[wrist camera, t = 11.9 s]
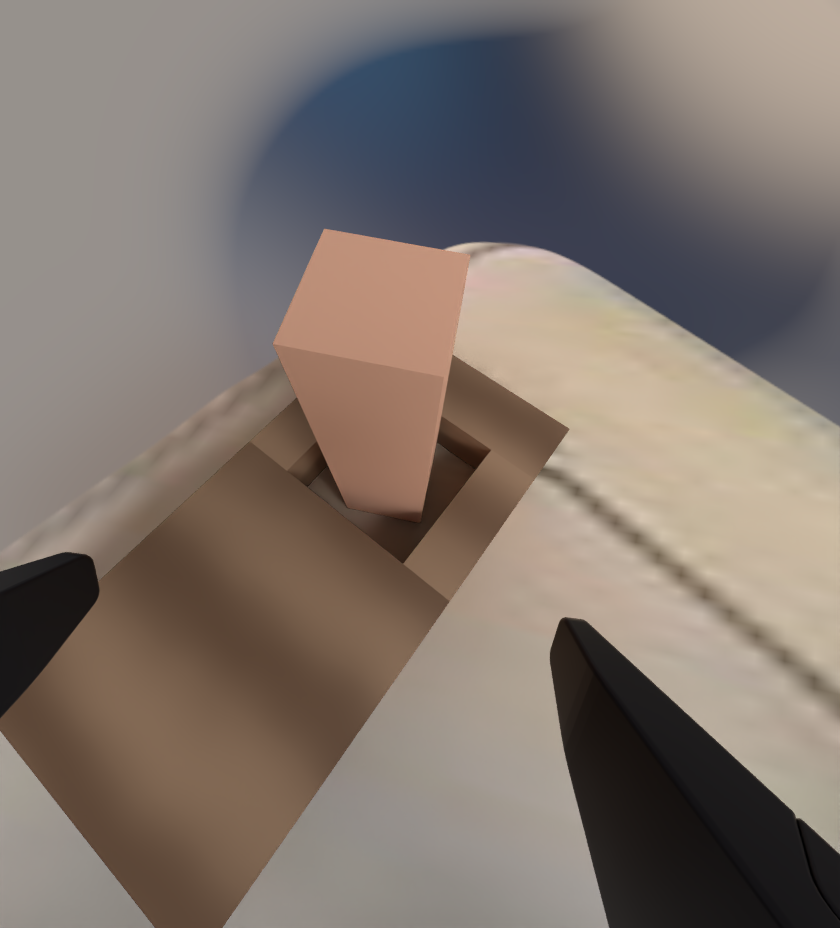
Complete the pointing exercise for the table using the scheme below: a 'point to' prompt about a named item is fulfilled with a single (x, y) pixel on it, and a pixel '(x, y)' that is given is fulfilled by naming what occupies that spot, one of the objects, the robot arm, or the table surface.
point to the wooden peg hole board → (252, 654)
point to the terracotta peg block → (374, 363)
